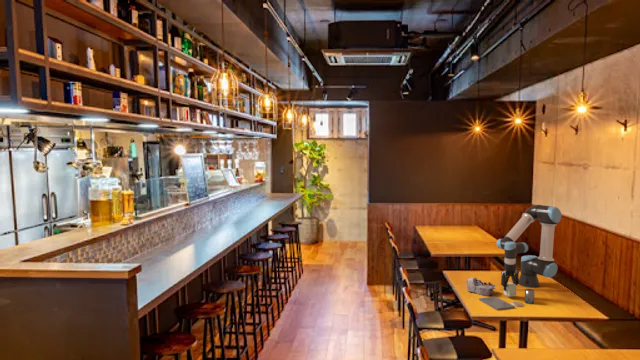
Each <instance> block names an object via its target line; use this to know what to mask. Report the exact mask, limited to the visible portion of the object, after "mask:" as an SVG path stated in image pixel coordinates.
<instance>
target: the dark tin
mask: <svg viewBox="0 0 640 360" xmlns="http://www.w3.org/2000/svg"><path fill="white" fill-rule="evenodd" d="M524 303H525V304H527V305H534V304H535V289H532V288H525V289H524Z"/></svg>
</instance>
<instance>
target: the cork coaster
mask: <svg viewBox="0 0 640 360" xmlns="http://www.w3.org/2000/svg"><path fill="white" fill-rule="evenodd" d="M510 304H511V305H513V306H515V308H516V307H517V308H522V307H524V306H525V305H524V303H522V302H520V301H511V302H510Z"/></svg>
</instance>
